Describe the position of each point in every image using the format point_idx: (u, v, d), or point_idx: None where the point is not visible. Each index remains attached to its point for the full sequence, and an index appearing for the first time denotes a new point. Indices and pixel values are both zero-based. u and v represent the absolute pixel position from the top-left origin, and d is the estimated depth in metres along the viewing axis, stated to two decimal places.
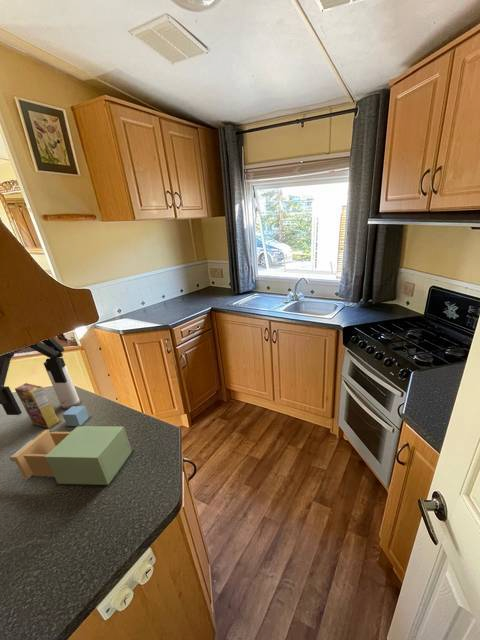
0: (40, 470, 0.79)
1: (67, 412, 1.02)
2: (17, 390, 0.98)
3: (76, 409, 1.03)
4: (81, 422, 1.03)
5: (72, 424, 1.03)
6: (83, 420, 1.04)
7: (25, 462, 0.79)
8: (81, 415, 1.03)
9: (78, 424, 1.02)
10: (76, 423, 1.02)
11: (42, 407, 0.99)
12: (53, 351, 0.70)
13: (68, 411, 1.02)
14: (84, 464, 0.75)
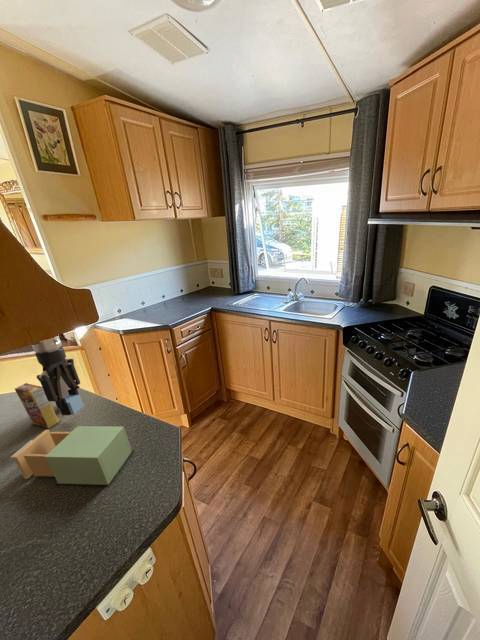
0: (40, 470, 0.79)
1: None
2: (17, 390, 0.98)
3: (70, 397, 1.01)
4: (75, 411, 1.01)
5: None
6: (77, 409, 1.02)
7: (25, 462, 0.79)
8: (76, 403, 1.01)
9: (72, 413, 1.00)
10: (70, 411, 1.00)
11: (42, 407, 0.99)
12: (74, 383, 1.02)
13: None
14: (84, 464, 0.75)
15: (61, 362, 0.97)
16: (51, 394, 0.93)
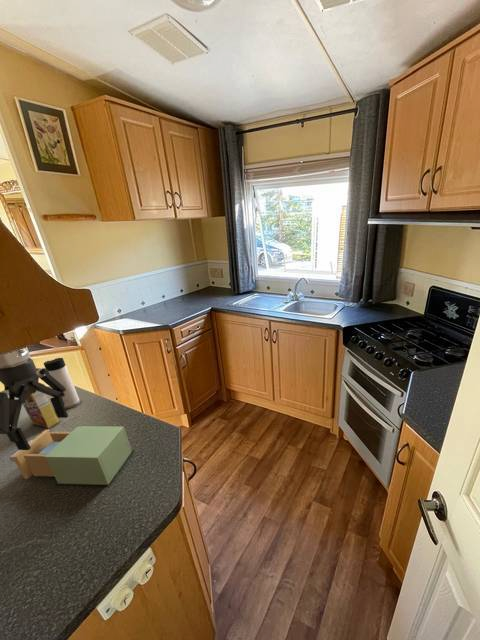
0: (40, 470, 0.79)
1: (45, 450, 0.81)
2: None
3: None
4: None
5: None
6: None
7: (25, 462, 0.79)
8: None
9: None
10: None
11: (42, 407, 0.99)
12: (56, 392, 0.82)
13: (46, 449, 0.82)
14: (84, 464, 0.75)
15: (31, 378, 0.75)
16: (2, 422, 0.67)
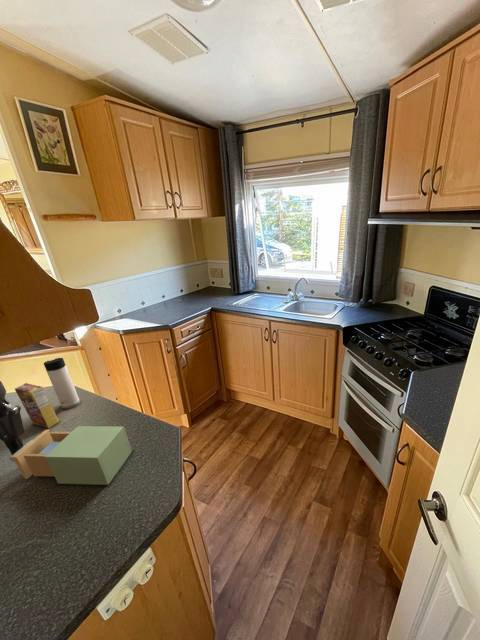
0: (40, 470, 0.79)
1: (45, 450, 0.81)
2: (17, 390, 0.98)
3: None
4: None
5: None
6: None
7: (25, 462, 0.79)
8: None
9: None
10: None
11: (42, 407, 0.99)
12: (8, 434, 0.80)
13: (46, 449, 0.82)
14: (84, 464, 0.75)
15: None
16: None
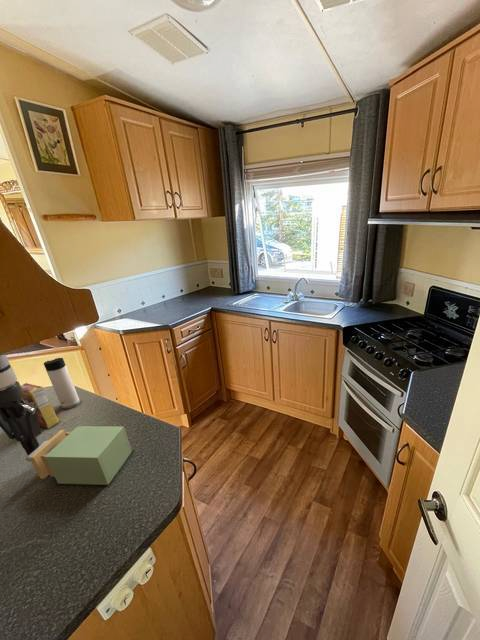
0: None
1: None
2: None
3: None
4: None
5: None
6: None
7: (41, 462, 0.79)
8: None
9: None
10: None
11: (42, 407, 0.99)
12: (25, 435, 0.79)
13: None
14: (84, 464, 0.75)
15: (10, 406, 0.75)
16: None
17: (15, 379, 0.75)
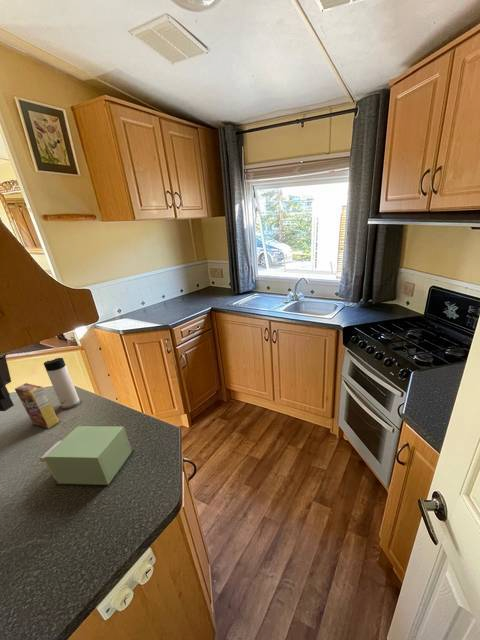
0: None
1: None
2: (17, 390, 0.98)
3: None
4: None
5: None
6: None
7: None
8: None
9: None
10: None
11: (42, 407, 0.99)
12: None
13: None
14: (84, 464, 0.75)
15: None
16: None
17: None
